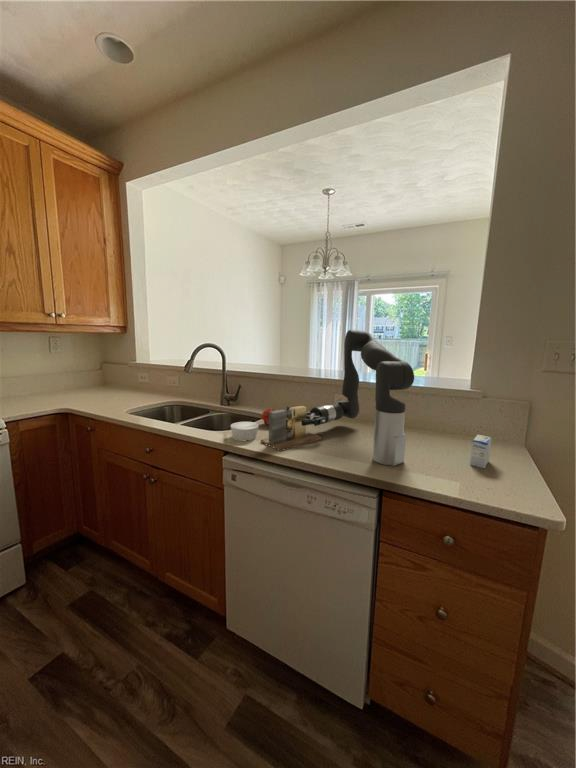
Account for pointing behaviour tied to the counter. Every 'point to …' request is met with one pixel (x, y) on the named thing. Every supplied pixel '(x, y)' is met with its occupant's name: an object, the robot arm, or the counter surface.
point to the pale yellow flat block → (297, 422)
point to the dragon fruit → (266, 415)
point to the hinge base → (294, 441)
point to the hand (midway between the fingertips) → (294, 420)
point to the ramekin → (244, 430)
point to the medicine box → (480, 451)
